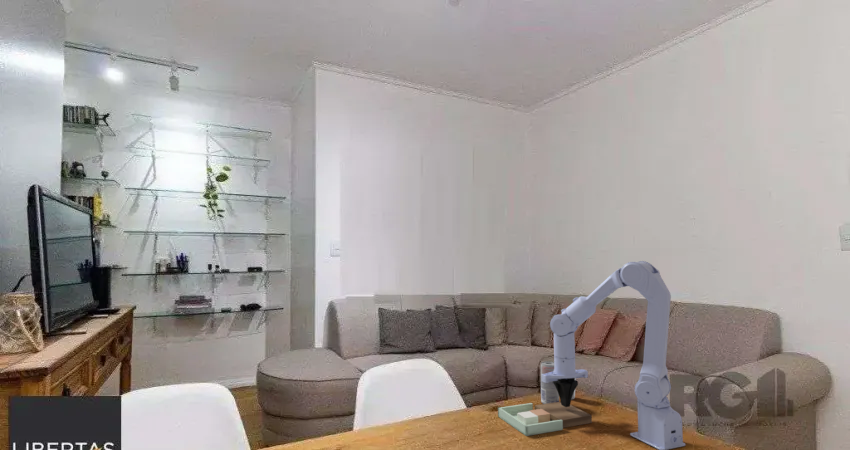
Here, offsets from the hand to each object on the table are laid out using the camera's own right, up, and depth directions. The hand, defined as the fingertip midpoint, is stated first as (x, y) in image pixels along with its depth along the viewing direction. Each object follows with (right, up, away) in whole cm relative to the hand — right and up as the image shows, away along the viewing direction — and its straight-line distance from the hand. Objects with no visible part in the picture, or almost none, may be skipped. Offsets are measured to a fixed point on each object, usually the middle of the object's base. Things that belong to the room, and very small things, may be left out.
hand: (565, 405), depth 123 cm
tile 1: (-12, -2, -5) cm, 13 cm away
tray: (-11, -3, -4) cm, 12 cm away
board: (-1, -3, -1) cm, 3 cm away
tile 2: (-8, -3, -3) cm, 9 cm away
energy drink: (-1, -4, +11) cm, 12 cm away
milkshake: (+6, -4, +16) cm, 18 cm away
